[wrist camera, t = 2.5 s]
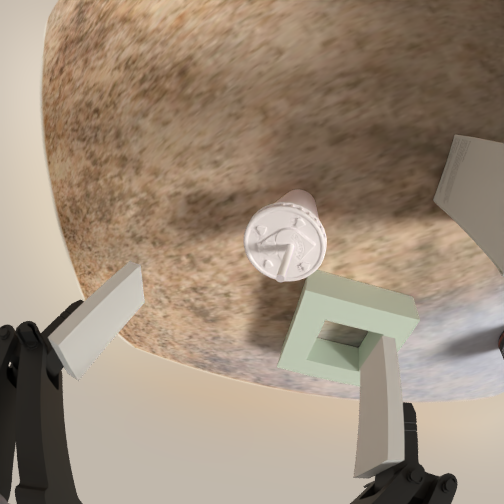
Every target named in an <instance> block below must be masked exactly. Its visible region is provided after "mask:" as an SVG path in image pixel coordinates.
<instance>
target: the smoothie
mask: <svg viewBox="0 0 504 504" xmlns="http://www.w3.org/2000/svg"><path fill="white" fill-rule="evenodd" d="M326 244H327V238H326V234H325V230H324V228H323V226H322V224H321V222H320V220H319V217H318V212H317V207H316V203H315V200H314V198H313V196H312V195H311V194H310V193H308V192H307V191H304V190H301V189H295V190H292V191H290V192H288V193H287V194H285V195H284V196H283V197H282V198H280V199H279V200H278V201H276V202H275V203H273V204H269V205H267V206H265V207H263V208H261V209H259V210H258V211H257V212H256V213H255V214H254V215H253V216H252V218H251V220H250V222H249V223H248V225H247V227H246V230H245V233H244V248H245V252H246V255H247V257H248V259H249V260H250V262H251V263H252V265H253V266H254V267H255V268H256V269H257V270H258V271H260V272H261V273H262V274H264V275H266V276H268V277H270V278H272V279H275V280H277V281H278V282H284V281H297V280H301V279H304V278H306V277H308V276H310V275H311V274H312V273H314V272H315V271H316V270H317V269H318V268H319V266H320V265H321V263H322V261H323V259H324V256H325V251H326Z"/></svg>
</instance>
